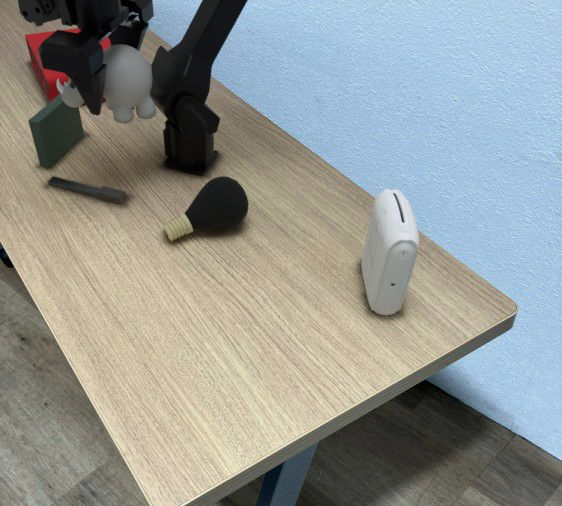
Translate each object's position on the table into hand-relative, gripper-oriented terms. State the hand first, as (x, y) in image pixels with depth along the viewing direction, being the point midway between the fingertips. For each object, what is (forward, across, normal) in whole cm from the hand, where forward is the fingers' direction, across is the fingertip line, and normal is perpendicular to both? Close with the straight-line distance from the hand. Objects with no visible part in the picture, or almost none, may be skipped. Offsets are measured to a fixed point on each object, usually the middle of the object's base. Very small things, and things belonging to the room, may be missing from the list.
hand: (110, 98), depth 80 cm
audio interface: (+12, -25, -19) cm, 34 cm away
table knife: (+12, +5, -4) cm, 13 cm away
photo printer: (+12, +10, +40) cm, 43 cm away
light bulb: (+12, +6, +15) cm, 20 cm away
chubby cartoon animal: (+2, +1, 0) cm, 2 cm away
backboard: (+12, -4, -12) cm, 17 cm away
